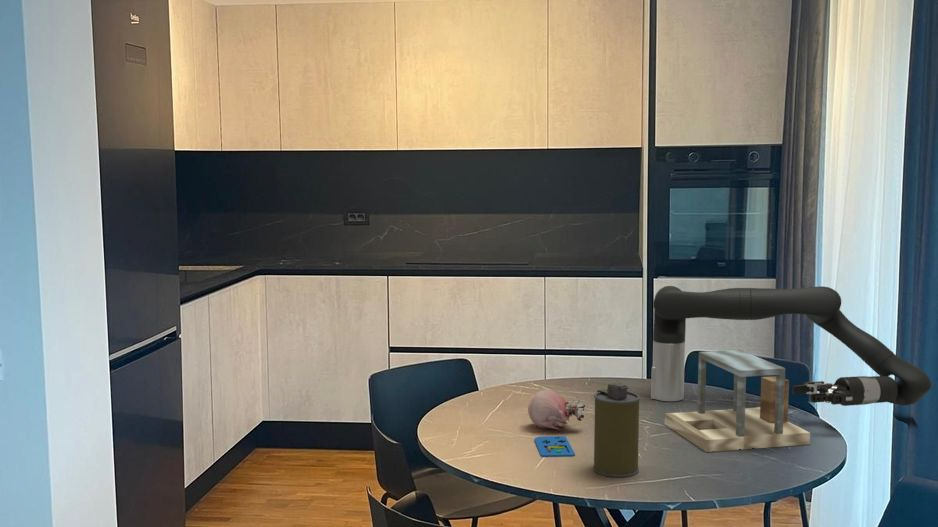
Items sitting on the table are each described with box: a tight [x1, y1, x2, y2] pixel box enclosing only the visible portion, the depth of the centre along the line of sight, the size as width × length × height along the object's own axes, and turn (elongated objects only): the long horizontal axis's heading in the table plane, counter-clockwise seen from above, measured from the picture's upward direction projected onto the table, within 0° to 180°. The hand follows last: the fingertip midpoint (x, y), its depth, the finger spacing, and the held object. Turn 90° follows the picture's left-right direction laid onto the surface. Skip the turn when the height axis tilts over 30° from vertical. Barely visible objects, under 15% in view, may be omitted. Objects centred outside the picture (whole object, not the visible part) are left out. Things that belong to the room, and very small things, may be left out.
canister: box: [592, 382, 641, 478], centre depth 210 cm, size 11×10×20 cm
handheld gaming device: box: [533, 435, 576, 458], centre depth 228 cm, size 8×1×15 cm
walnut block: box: [759, 375, 790, 423], centre depth 240 cm, size 5×5×11 cm
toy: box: [527, 389, 586, 432], centre depth 244 cm, size 12×11×15 cm
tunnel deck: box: [664, 349, 811, 453], centre depth 237 cm, size 28×24×20 cm
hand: (801, 394), depth 241 cm, fingers open, 8 cm apart
